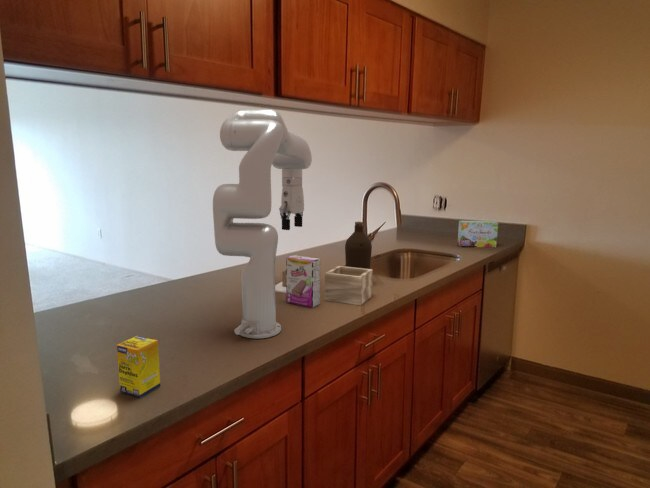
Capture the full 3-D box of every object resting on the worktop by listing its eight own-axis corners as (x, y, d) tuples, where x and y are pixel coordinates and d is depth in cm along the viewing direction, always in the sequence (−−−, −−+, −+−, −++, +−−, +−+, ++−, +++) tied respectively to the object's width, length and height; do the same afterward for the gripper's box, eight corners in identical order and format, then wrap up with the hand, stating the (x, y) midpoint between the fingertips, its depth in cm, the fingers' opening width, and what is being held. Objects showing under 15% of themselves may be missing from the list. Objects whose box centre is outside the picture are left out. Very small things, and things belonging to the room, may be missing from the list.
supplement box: (119, 392, 97) (115, 344, 95) (140, 380, 103) (137, 334, 101) (140, 399, 95) (136, 349, 93) (161, 386, 100) (158, 339, 98)
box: (360, 305, 156) (361, 277, 155) (324, 300, 162) (325, 273, 160) (371, 295, 168) (372, 269, 166) (338, 291, 173) (338, 265, 171)
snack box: (459, 247, 262) (461, 221, 259) (457, 245, 267) (458, 220, 264) (496, 247, 262) (498, 221, 259) (493, 245, 267) (495, 220, 264)
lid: (304, 296, 168) (304, 277, 166) (268, 291, 173) (267, 273, 172) (318, 287, 181) (318, 269, 179) (285, 282, 186) (284, 265, 185)
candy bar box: (285, 303, 159) (285, 257, 155) (293, 299, 163) (293, 254, 160) (312, 308, 153) (313, 260, 150) (320, 304, 157) (320, 258, 154)
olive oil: (376, 284, 184) (378, 222, 179) (357, 288, 177) (358, 224, 172) (357, 278, 191) (359, 219, 187) (339, 282, 185) (339, 221, 180)
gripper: (289, 183, 160) (289, 231, 163) (311, 182, 175) (311, 226, 179) (271, 183, 163) (271, 230, 166) (294, 181, 179) (294, 224, 182)
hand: (292, 228), depth 172 cm, fingers open, 9 cm apart
